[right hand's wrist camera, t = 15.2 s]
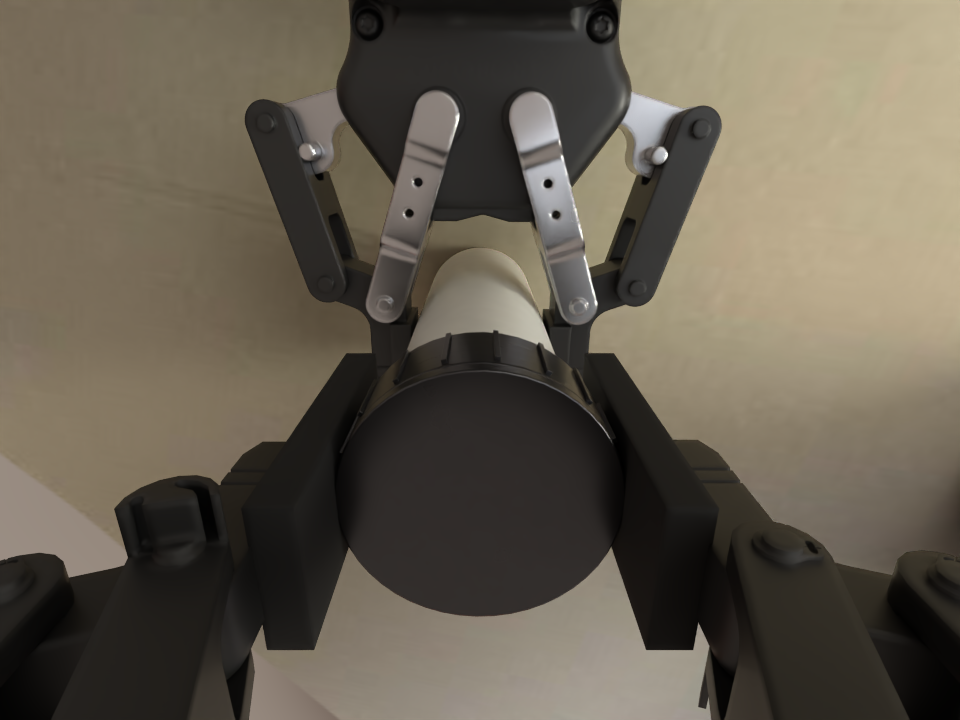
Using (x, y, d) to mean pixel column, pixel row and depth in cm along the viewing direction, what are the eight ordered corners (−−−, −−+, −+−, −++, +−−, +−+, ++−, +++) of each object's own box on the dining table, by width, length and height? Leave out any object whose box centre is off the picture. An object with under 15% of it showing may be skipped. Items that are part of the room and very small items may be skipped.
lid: (654, 449, 12) (690, 509, 10) (474, 585, 13) (473, 661, 11) (486, 272, 11) (488, 299, 9) (304, 443, 12) (268, 501, 10)
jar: (511, 354, 26) (550, 598, 12) (420, 328, 25) (342, 548, 11) (542, 263, 24) (631, 416, 10) (446, 234, 24) (395, 349, 10)
